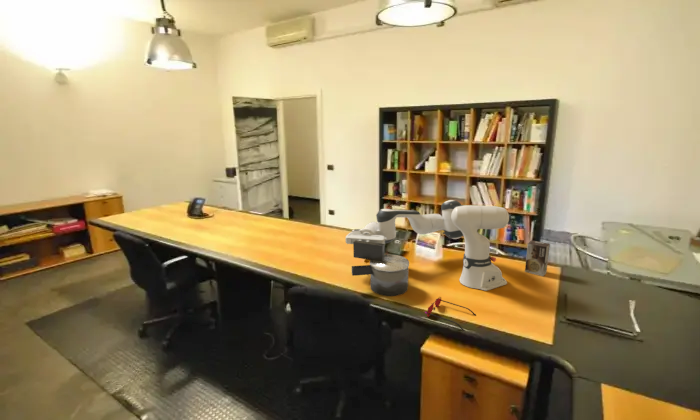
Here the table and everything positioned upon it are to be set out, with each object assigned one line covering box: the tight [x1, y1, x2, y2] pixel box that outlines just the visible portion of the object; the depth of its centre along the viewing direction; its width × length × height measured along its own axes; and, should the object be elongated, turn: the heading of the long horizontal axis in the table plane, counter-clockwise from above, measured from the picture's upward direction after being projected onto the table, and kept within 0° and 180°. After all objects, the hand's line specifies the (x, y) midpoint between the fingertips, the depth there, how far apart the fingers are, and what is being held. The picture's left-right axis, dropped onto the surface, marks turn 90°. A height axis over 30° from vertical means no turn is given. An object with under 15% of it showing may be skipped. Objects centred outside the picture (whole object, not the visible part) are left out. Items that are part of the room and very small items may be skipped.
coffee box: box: [524, 239, 551, 277], centre depth 179 cm, size 9×6×16 cm
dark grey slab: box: [352, 240, 410, 272], centre depth 165 cm, size 27×19×9 cm
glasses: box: [424, 296, 477, 332], centre depth 141 cm, size 14×16×5 cm
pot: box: [351, 264, 409, 297], centre depth 165 cm, size 27×18×12 cm, turn 96°
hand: (362, 245), depth 170 cm, fingers closed
